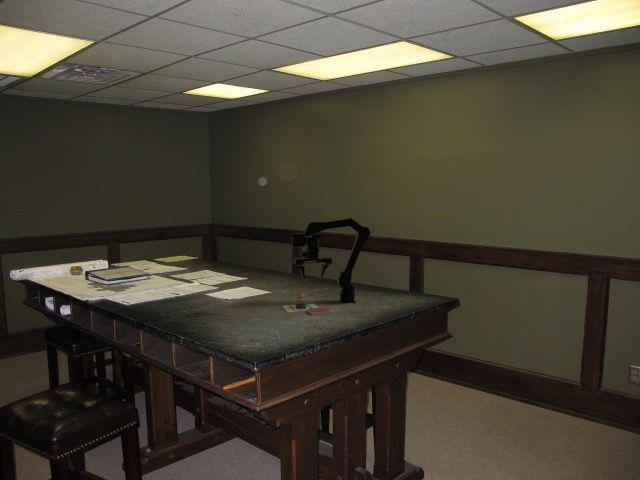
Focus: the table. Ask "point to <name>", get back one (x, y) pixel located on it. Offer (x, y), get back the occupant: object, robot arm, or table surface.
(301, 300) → the stamp
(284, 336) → the table surface
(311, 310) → the ink pad
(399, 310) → the table surface
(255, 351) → the table surface
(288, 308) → the paper
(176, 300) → the table surface
